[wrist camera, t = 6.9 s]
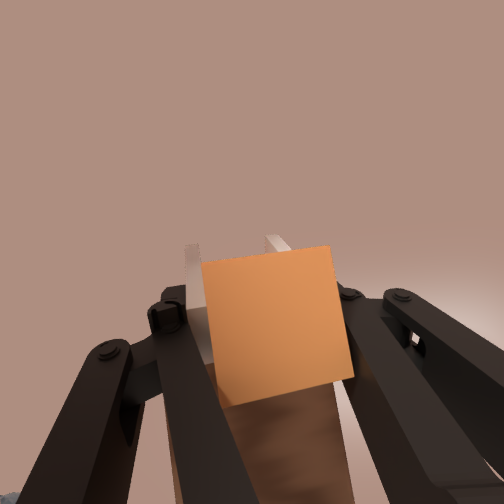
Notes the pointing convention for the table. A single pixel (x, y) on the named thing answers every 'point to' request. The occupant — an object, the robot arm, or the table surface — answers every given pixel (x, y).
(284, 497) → the post
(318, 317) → the orange rectangular bar
